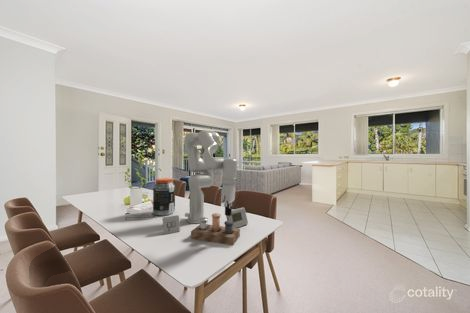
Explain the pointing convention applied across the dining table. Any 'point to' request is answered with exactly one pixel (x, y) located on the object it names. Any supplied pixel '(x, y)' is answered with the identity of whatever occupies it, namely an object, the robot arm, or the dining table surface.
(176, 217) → the electrical switch
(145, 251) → the dining table surface
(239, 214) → the digital clock
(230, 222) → the charcoal peg
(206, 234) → the walnut block
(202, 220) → the grey peg
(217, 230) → the terracotta peg
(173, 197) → the supplement tub
